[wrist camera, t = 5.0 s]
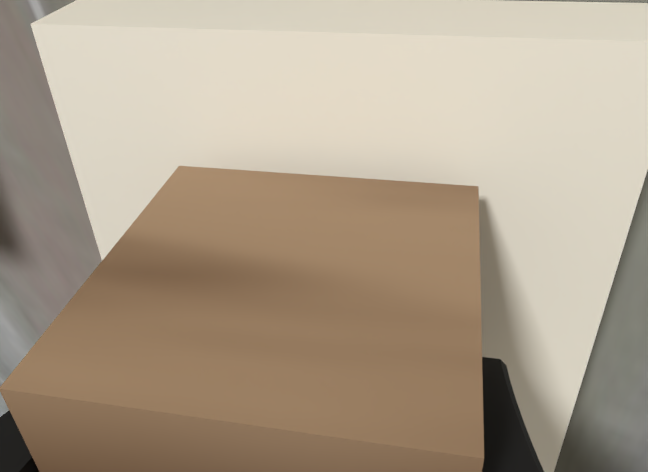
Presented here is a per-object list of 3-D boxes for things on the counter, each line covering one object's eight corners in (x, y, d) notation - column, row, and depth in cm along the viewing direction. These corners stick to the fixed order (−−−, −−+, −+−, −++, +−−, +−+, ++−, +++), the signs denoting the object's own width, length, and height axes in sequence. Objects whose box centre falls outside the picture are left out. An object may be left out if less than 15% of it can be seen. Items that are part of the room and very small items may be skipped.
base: (544, 406, 16) (552, 475, 14) (178, 359, 18) (149, 415, 16) (652, 3, 10) (687, 42, 8) (90, -7, 12) (30, 24, 10)
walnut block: (450, 399, 12) (441, 681, 8) (216, 369, 13) (108, 611, 9) (478, 186, 10) (483, 458, 6) (179, 165, 11) (-2, 388, 6)
